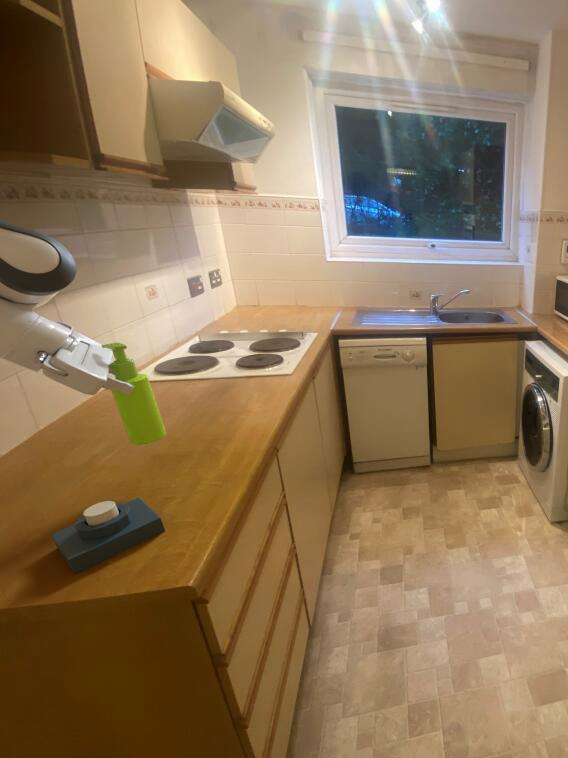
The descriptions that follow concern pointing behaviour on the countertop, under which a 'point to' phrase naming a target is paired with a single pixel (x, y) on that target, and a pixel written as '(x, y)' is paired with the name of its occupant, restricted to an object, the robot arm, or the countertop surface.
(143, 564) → the countertop surface
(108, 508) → the button
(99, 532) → the button housing
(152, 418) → the soap dispenser
